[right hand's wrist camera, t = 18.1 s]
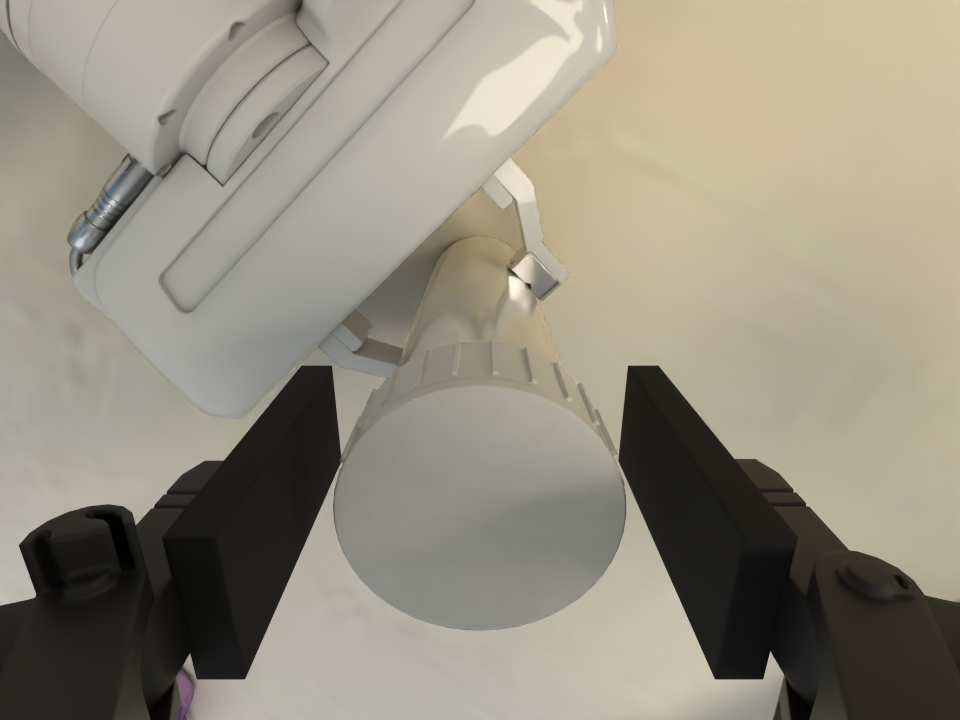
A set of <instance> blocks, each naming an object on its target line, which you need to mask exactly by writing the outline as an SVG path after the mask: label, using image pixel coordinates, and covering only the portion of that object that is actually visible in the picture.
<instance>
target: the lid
mask: <svg viewBox="0 0 960 720" xmlns="http://www.w3.org/2000/svg"><path fill="white" fill-rule="evenodd" d="M616 454H617V452H616V449H615V447H614V445H613V443H612V441H611V438H610V436H609V434H608V432H607V429H606V427H605V425H604V423H603V420H602V418H601V416H600V414H599V412H598V410H594V409H593V407H592V405H591V402H590V400H589V398H588V395H587V393H586V391H585V388H584V386H583V385H582V384H581V383H580V384H579V385H578V384H577V383H576V382H575V381H574V380H573V379H572V378H571V377H570V376H569V375H568V374H567V373H566V372H565V371H563V370H562V368H561V365H560V363H558V362H555V364H554V363H553V362H551V361H550V360H548V359H546V358H545V357H543V356H541V355H539V354H536V353H534V352H532V351H531V349H530V348H529V347H525V349H524V348H521V347H518V346H514V345H511V344H505V343H499V342H496V340H495V339H491V342H490V341H471V342H461V340H457V341H455V344H450V345H445V346H441V347H438V348H436V349H433V350H430V351H427V349H425V350H423V351H422V353H421V355H419V356H417V357H415V358H413V359H411V360H410V361H408V362H407V363H405V364H404V365H403V366H401V367H400V368H399V367H398V366H396V367H395V368H394V369H393V371H392V374H391V376H389V377H388V378H387V379H386V380H385V382H384V383H383V384H382V385H381V386H380V388H379V389H378V390H376V389H374V390H373V391H372V393H371V395H370V397H369V399H368V402H367V404H366V406H365V409H364V411H363V413H362V415H361V416H359V418H358V420H357V423H356V425H355V427H354V429H353V432H352V434H351V436H350V438H349V441H348V443H347V445H346V447H345V449H344V452H343V454H342V456H341V459H340V462H343V465H342V467H341V470H340V472H339V475H338V479H337V483H336V487H335V491H334V503H333V511H334V523H335V528H336V532H337V536H338V540H339V542H340V545H341V547H342V550H343V553H344V555H345V556H346V558H347V560H348V562H349V563H350V565H351V567H352V568H353V570H354V571H355V572H356V574H357V575H358V576H359V578H360V579H361V580H362V581H363V582H364V583H365V584H366V585H367V586H368V587H369V588H370V589H371V590H372V591H373V592H374V593H375V594H376V595H378V596H379V597H380V598H381V599H383V600H384V601H385V602H387V603H388V604H390V605H391V606H393V607H395V608H396V609H398V610H400V611H401V612H404V613H406V614H408V615H410V616H412V617H414V618H417V619H419V620H422V621H425V622H428V623H431V624H435V625H439V626H443V627H448V628H454V629H462V630H483V631H484V630H498V629H505V628H511V627H517V626H521V625H524V624H528V623H532V622H535V621H538V620H540V619H543V618H545V617H548V616H550V615H552V614H554V613H556V612H558V611H560V610H562V609H563V608H565V607H567V606H568V605H570V604H571V603H573V602H574V601H576V600H577V599H578V598H580V597H581V596H582V595H583V594H584V593H585V592H587V591H588V590H589V589H590V588H591V587H592V586H593V585H594V584H595V583H596V582H597V581H598V579H599V578H600V577H601V576H602V575H603V573H604V572H605V570H606V569H607V567H608V566H609V564H610V563H611V562H612V560H613V557H614V555H615V553H616V551H617V549H618V547H619V544H620V541H621V538H622V535H623V531H624V525H625V519H626V496H625V489H624V481H623V478H622V476H621V474H620V471H619V468H618V465H617V463H616V461H615V458H614V455H616Z"/></svg>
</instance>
